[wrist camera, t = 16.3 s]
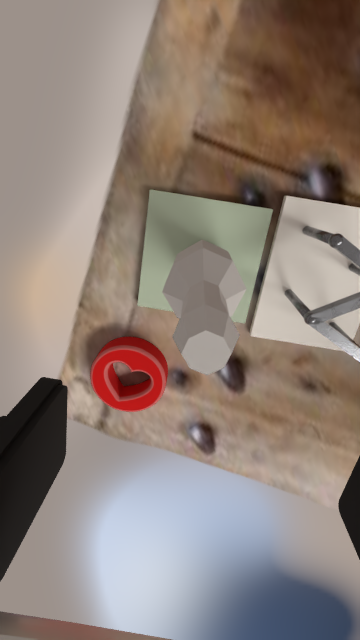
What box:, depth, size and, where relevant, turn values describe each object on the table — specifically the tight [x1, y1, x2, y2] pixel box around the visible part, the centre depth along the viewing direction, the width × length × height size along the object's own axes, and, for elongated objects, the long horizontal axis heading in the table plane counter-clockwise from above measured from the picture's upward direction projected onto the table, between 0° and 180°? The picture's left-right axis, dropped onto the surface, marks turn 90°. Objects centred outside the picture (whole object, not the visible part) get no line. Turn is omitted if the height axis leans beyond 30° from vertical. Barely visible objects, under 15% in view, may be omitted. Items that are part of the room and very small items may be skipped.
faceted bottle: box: [162, 240, 246, 375], centre depth 26 cm, size 6×6×22 cm
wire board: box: [249, 196, 360, 351], centre depth 36 cm, size 12×16×1 cm
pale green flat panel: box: [137, 189, 273, 323], centre depth 36 cm, size 13×13×1 cm
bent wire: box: [285, 226, 360, 363], centre depth 32 cm, size 7×11×9 cm, turn 171°
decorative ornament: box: [90, 337, 168, 412], centre depth 42 cm, size 10×10×3 cm
